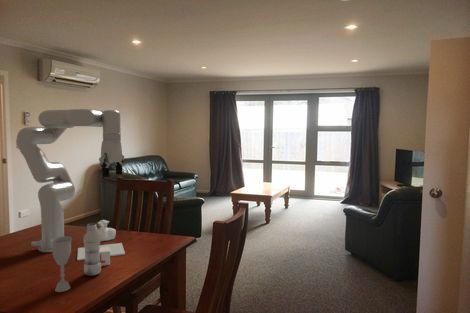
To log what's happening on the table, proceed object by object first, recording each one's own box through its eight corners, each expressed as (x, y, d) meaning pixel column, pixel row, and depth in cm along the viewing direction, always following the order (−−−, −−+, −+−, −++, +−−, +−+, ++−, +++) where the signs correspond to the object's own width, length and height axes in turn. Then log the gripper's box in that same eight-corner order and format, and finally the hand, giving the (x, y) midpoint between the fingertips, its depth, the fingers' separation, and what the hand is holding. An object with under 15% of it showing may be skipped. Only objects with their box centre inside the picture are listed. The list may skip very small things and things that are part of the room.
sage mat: (77, 260, 146) (77, 259, 146) (78, 249, 160) (78, 247, 160) (125, 254, 154) (125, 253, 154) (121, 244, 168) (121, 242, 168)
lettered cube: (95, 267, 139) (94, 253, 139) (94, 261, 145) (94, 248, 145) (110, 265, 142) (110, 251, 141) (109, 259, 147) (109, 246, 147)
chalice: (57, 284, 123) (56, 236, 122) (76, 283, 123) (75, 236, 122) (48, 293, 116) (46, 242, 114) (68, 293, 116) (67, 242, 115)
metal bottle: (84, 279, 127) (83, 227, 126) (83, 272, 133) (82, 223, 132) (102, 276, 130) (101, 225, 129) (100, 269, 136) (99, 221, 135)
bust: (115, 242, 178) (113, 222, 184) (117, 236, 173) (115, 216, 178) (91, 245, 173) (90, 225, 178) (92, 239, 167) (91, 219, 173)
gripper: (116, 137, 159) (116, 173, 160) (91, 138, 142) (92, 177, 143) (129, 137, 157) (130, 173, 158) (107, 138, 141) (108, 178, 142)
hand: (112, 175), depth 151 cm, fingers open, 9 cm apart
